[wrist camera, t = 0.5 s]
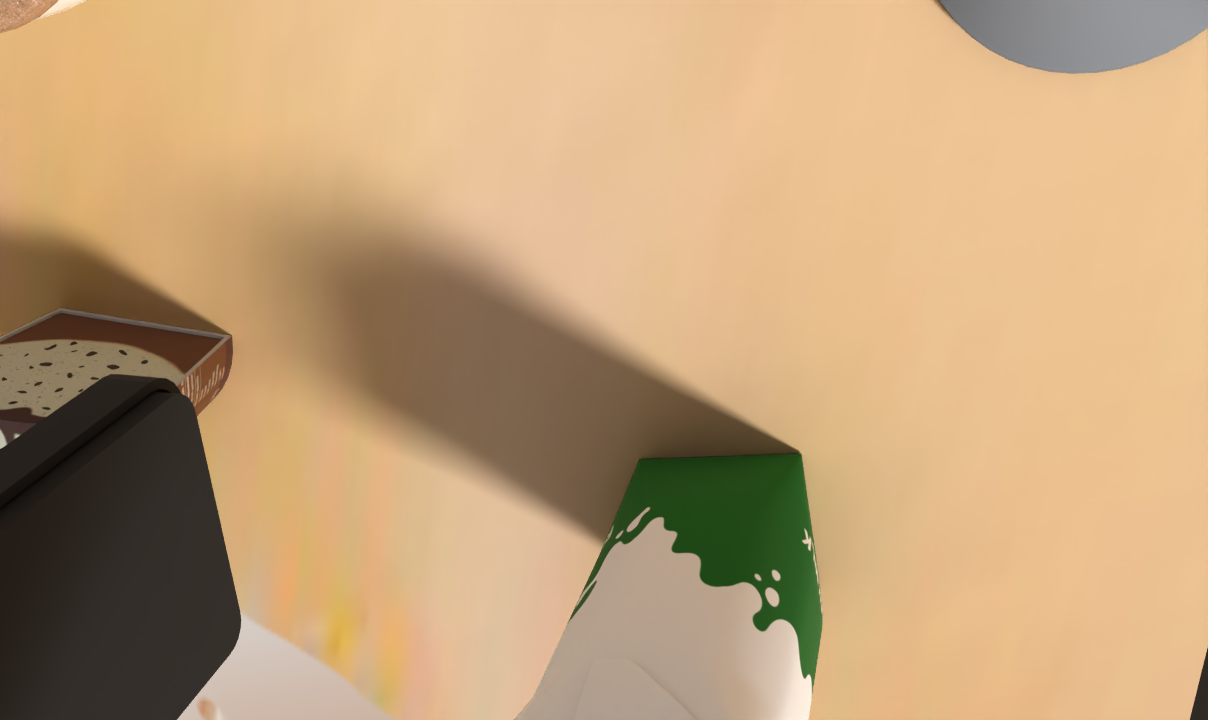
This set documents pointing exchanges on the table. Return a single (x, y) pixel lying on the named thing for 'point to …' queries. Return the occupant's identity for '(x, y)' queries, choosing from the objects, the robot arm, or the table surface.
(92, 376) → the food container
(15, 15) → the lidded bowl
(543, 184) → the table surface
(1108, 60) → the mat
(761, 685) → the milk carton
